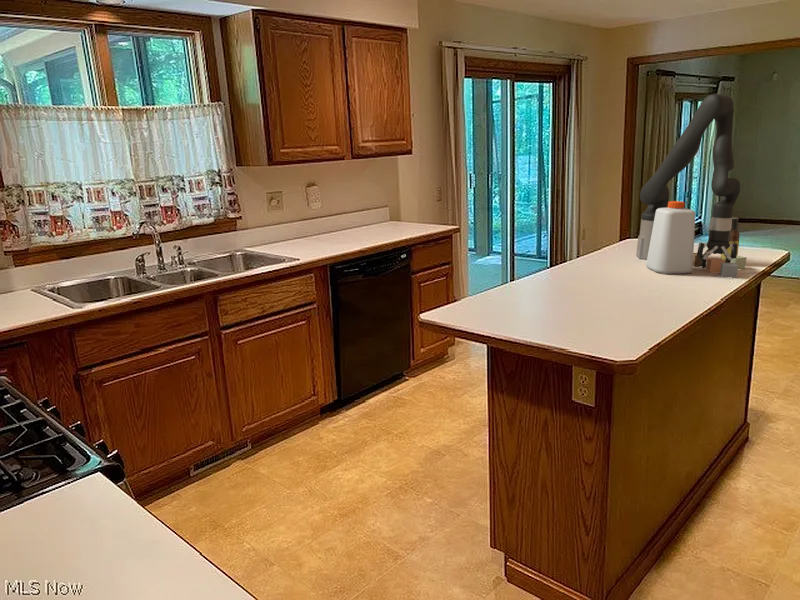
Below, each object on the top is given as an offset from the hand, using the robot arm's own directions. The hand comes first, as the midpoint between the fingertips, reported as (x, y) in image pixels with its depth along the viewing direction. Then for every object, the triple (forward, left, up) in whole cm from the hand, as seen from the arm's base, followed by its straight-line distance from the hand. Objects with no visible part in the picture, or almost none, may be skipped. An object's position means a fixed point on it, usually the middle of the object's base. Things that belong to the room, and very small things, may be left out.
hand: (714, 268), depth 240 cm
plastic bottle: (-18, -1, -1) cm, 18 cm away
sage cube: (+10, +6, -1) cm, 12 cm away
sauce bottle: (+10, +14, -1) cm, 17 cm away
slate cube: (+2, -9, -1) cm, 9 cm away
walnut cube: (-4, +10, -1) cm, 11 cm away
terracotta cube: (0, 0, -1) cm, 1 cm away
